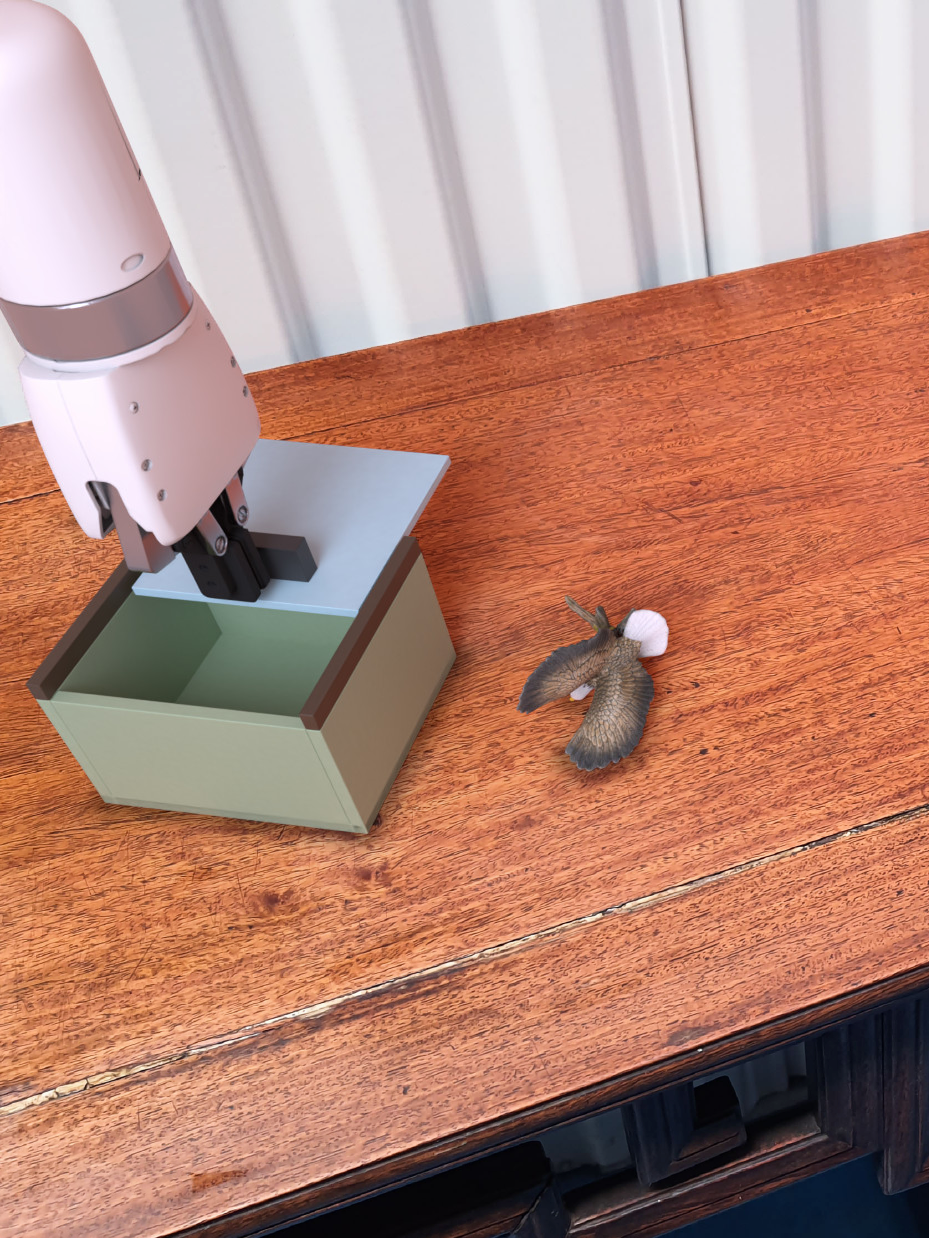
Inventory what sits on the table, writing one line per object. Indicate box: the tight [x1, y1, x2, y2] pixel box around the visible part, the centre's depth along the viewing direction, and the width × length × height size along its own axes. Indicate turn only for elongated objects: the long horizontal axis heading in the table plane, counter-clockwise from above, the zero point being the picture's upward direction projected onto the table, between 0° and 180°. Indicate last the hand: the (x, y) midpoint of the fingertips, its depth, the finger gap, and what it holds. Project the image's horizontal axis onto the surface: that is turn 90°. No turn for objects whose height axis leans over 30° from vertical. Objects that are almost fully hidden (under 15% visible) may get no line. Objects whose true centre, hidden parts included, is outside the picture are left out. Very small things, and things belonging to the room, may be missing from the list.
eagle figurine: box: [515, 595, 670, 773], centre depth 81 cm, size 8×7×9 cm
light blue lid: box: [132, 437, 452, 617], centre depth 81 cm, size 13×14×3 cm
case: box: [25, 535, 457, 835], centre depth 79 cm, size 16×14×10 cm
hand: (237, 589), depth 76 cm, fingers closed
